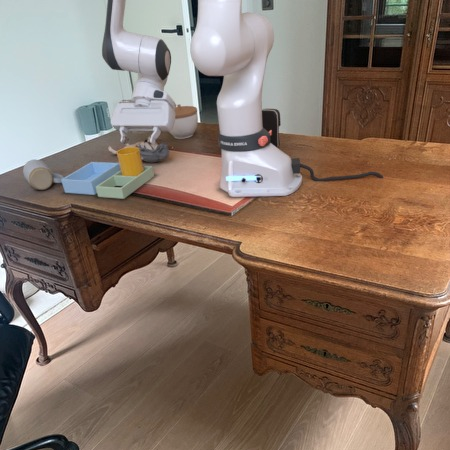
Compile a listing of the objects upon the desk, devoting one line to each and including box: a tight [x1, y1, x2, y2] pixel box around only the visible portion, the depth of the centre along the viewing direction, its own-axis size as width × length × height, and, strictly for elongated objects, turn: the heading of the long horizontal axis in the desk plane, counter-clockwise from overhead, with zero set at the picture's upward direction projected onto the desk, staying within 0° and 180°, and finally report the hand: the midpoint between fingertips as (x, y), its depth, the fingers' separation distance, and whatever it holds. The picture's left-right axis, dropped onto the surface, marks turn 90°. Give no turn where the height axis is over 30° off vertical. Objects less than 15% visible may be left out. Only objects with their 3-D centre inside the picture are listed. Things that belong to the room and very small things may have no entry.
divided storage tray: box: [96, 165, 156, 200], centre depth 128 cm, size 9×17×3 cm, turn 157°
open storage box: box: [61, 161, 120, 196], centre depth 132 cm, size 11×15×4 cm
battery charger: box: [262, 108, 282, 148], centre depth 142 cm, size 7×4×11 cm, turn 58°
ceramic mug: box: [22, 158, 65, 191], centre depth 134 cm, size 11×8×8 cm
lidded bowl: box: [168, 103, 199, 140], centre depth 162 cm, size 13×13×11 cm
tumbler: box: [115, 147, 144, 176], centre depth 129 cm, size 7×7×9 cm
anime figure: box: [107, 138, 170, 164], centre depth 146 cm, size 10×7×30 cm
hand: (137, 143), depth 130 cm, fingers open, 8 cm apart
